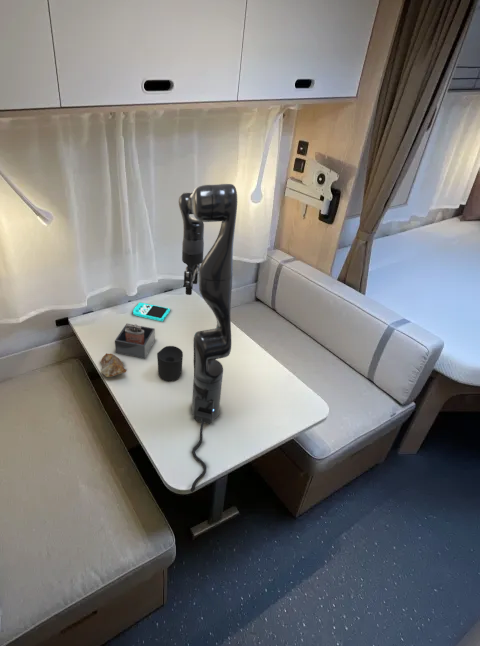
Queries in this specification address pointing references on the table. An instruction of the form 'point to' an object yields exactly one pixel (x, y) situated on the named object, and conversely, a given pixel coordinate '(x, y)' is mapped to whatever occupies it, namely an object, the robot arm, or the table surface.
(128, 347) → the grey square tray
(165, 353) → the pen holder
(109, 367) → the decorative stone
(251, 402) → the table surface
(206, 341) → the robot arm
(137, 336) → the lighter
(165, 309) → the handheld game console
